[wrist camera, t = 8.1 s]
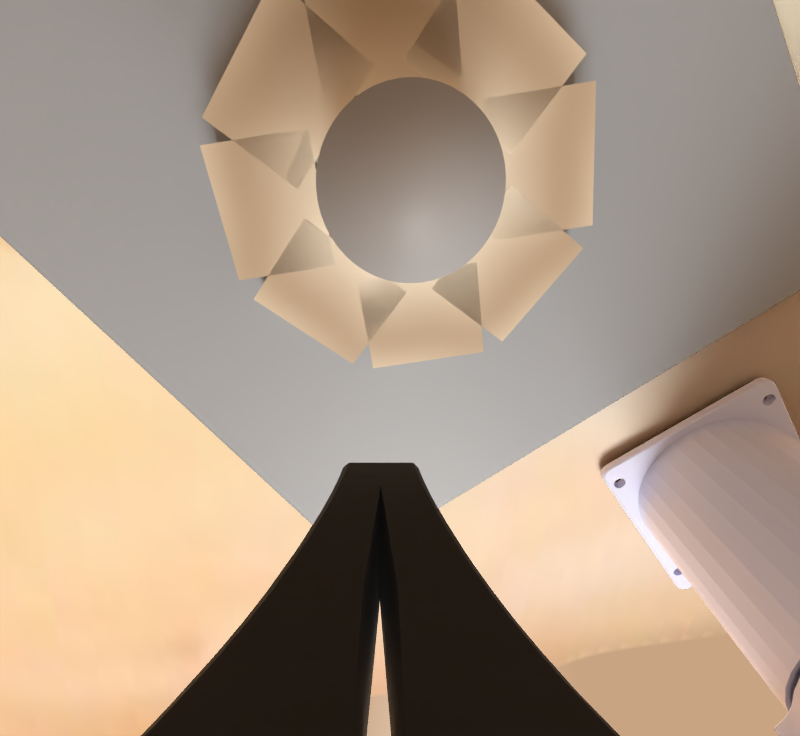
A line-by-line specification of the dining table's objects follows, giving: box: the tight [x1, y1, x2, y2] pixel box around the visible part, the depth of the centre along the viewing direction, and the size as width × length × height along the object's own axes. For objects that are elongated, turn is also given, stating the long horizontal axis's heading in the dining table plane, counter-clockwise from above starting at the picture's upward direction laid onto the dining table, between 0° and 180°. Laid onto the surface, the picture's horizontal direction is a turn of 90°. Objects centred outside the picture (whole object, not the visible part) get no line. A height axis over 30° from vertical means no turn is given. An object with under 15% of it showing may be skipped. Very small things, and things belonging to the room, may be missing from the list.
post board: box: [0, 0, 800, 525], centre depth 13 cm, size 24×24×5 cm
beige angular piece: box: [200, 0, 596, 368], centre depth 11 cm, size 17×12×6 cm
